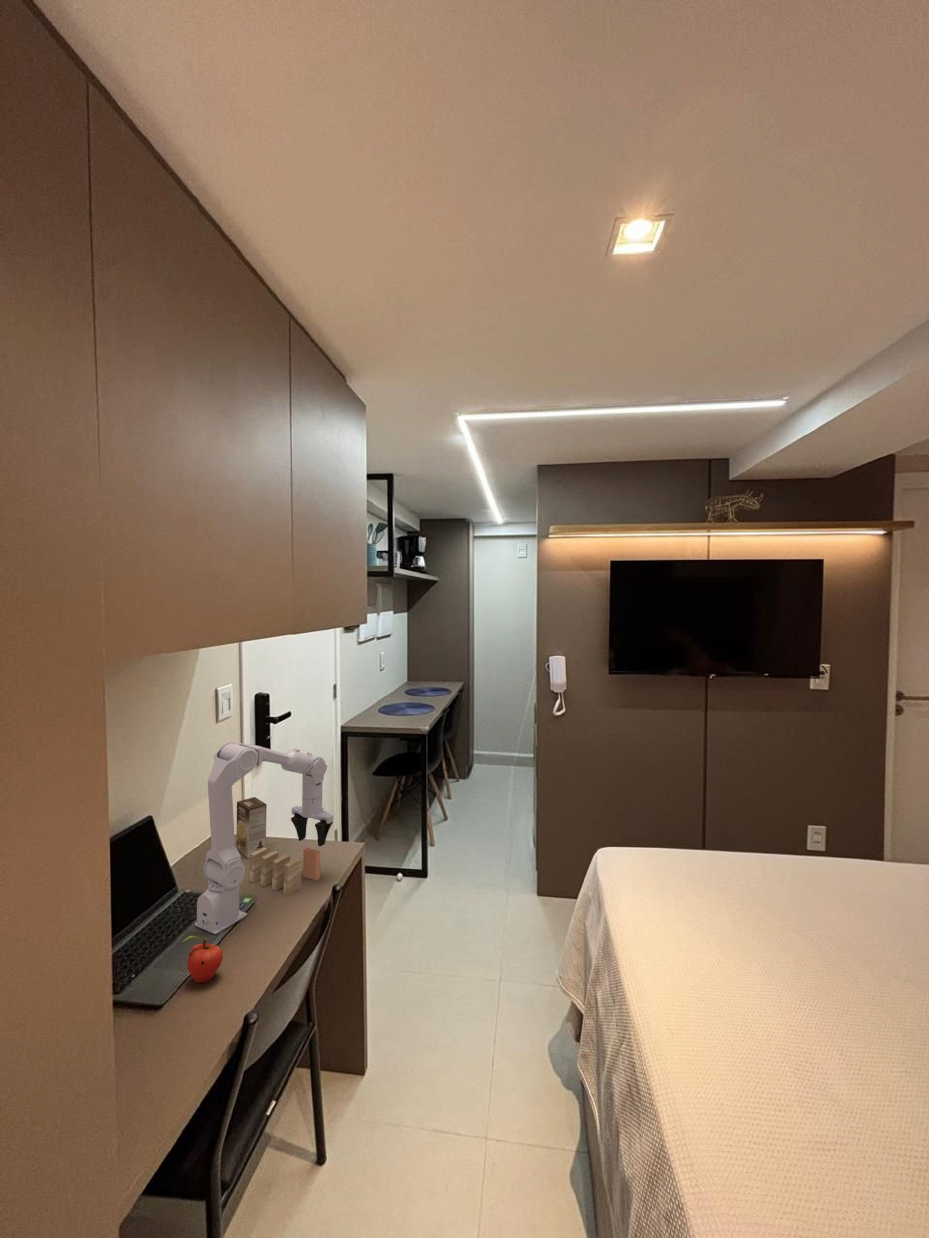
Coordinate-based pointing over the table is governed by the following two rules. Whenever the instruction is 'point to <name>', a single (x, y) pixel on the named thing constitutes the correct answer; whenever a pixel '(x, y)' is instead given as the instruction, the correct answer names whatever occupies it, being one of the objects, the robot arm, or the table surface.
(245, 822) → the coffee box
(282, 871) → the cream domino
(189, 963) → the apple
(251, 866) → the cream domino
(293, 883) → the cream domino
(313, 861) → the terracotta domino
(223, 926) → the robot arm
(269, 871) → the cream domino
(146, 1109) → the table surface
